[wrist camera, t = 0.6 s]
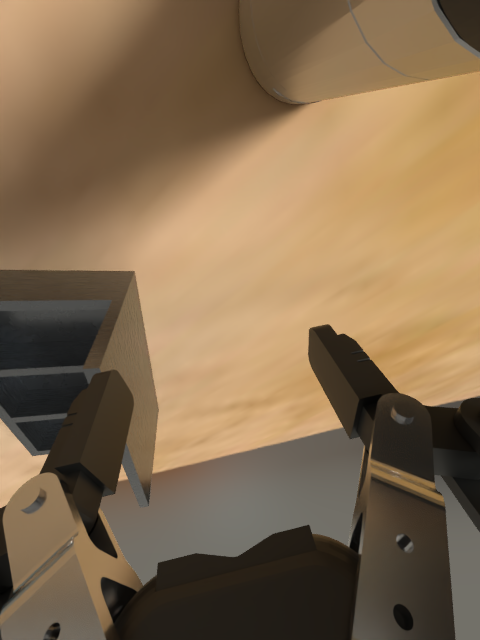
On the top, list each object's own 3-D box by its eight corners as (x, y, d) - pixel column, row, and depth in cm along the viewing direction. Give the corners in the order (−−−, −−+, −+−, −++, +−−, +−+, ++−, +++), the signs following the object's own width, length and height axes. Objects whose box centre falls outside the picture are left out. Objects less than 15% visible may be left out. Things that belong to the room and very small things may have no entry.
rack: (-47, 269, 24) (-237, 386, 13) (134, 271, 26) (99, 368, 16) (49, 419, 38) (-3, 529, 28) (158, 409, 41) (148, 506, 31)
